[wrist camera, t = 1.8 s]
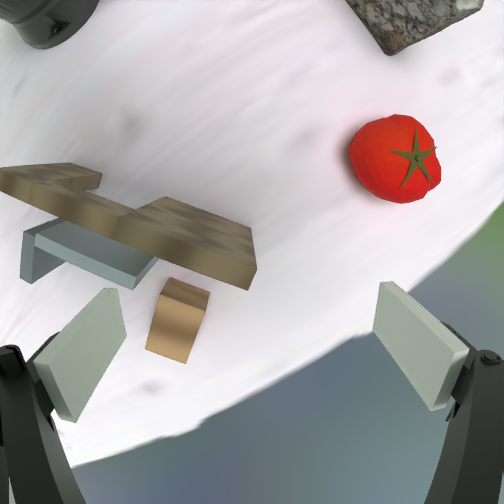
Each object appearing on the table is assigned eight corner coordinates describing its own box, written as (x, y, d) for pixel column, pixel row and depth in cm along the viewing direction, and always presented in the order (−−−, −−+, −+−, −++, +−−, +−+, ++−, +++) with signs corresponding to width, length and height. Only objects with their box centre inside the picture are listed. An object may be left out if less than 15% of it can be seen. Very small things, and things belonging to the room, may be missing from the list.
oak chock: (191, 341, 44) (185, 364, 38) (155, 327, 43) (144, 349, 37) (210, 291, 42) (205, 311, 36) (170, 276, 41) (159, 294, 35)
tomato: (406, 209, 39) (447, 223, 29) (329, 182, 38) (358, 188, 28) (424, 139, 36) (467, 136, 27) (349, 105, 35) (382, 88, 25)
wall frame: (66, 175, 36) (-8, 187, 21) (69, 162, 36) (-5, 168, 20) (245, 242, 40) (247, 290, 24) (250, 228, 39) (257, 269, 24)
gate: (66, 250, 39) (19, 277, 27) (73, 209, 37) (24, 227, 26) (152, 286, 41) (124, 329, 29) (164, 245, 39) (136, 277, 28)
